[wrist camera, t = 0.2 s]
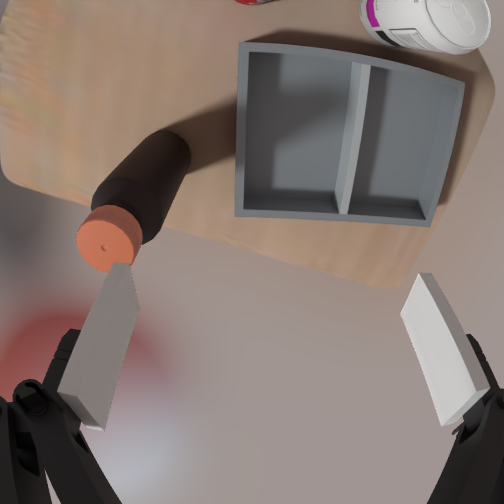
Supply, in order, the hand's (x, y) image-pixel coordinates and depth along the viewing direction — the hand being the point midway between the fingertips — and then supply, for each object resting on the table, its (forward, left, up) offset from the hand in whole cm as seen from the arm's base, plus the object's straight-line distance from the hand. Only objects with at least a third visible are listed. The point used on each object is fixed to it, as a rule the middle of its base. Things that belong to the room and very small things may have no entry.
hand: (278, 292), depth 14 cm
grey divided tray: (-1, +10, -28) cm, 29 cm away
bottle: (+3, -12, -28) cm, 30 cm away
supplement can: (-17, +14, -28) cm, 35 cm away
